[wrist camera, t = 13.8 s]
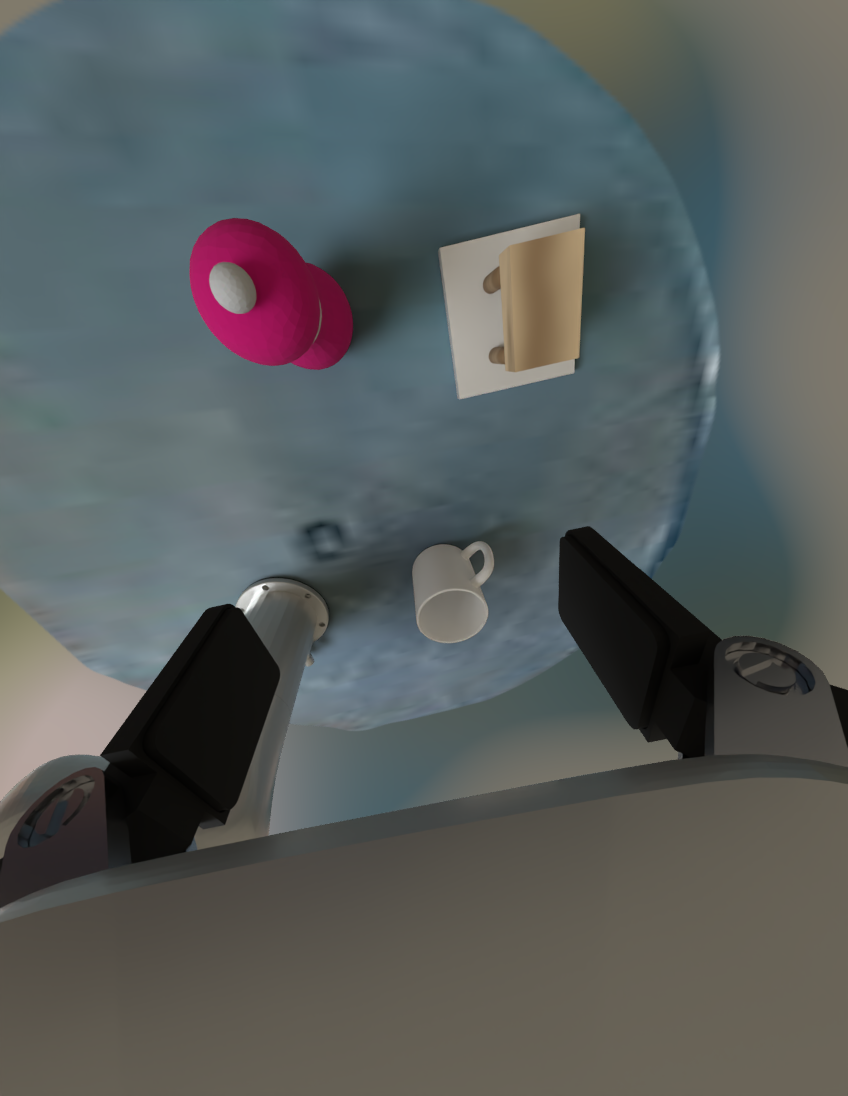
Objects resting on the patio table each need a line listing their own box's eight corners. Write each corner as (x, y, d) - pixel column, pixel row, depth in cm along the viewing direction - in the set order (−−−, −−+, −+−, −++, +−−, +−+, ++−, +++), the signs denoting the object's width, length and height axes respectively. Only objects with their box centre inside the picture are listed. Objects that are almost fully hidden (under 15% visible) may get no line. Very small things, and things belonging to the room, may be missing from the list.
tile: (568, 372, 34) (574, 372, 33) (457, 397, 35) (459, 399, 34) (573, 218, 28) (580, 213, 27) (438, 251, 29) (439, 247, 28)
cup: (399, 572, 46) (401, 624, 37) (457, 510, 42) (474, 551, 33) (443, 599, 49) (454, 652, 40) (501, 544, 45) (527, 590, 36)
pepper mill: (356, 279, 29) (306, 172, 12) (358, 370, 33) (322, 389, 16) (271, 269, 28) (88, 140, 11) (283, 364, 32) (158, 377, 15)
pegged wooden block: (535, 259, 29) (584, 227, 21) (536, 357, 32) (579, 357, 25) (479, 273, 29) (509, 245, 21) (487, 368, 33) (515, 372, 25)
